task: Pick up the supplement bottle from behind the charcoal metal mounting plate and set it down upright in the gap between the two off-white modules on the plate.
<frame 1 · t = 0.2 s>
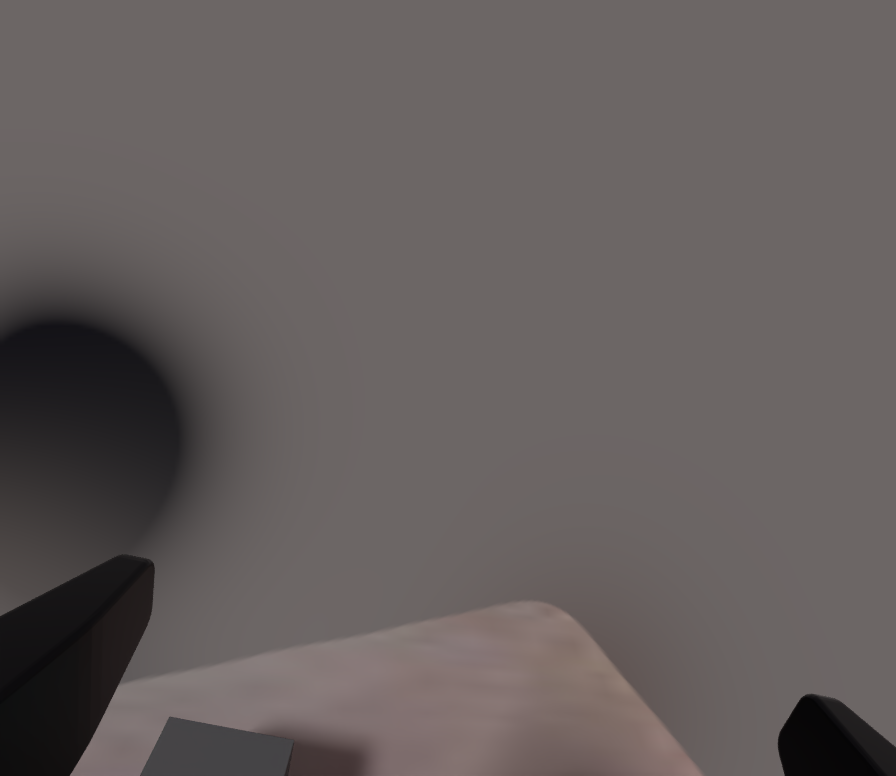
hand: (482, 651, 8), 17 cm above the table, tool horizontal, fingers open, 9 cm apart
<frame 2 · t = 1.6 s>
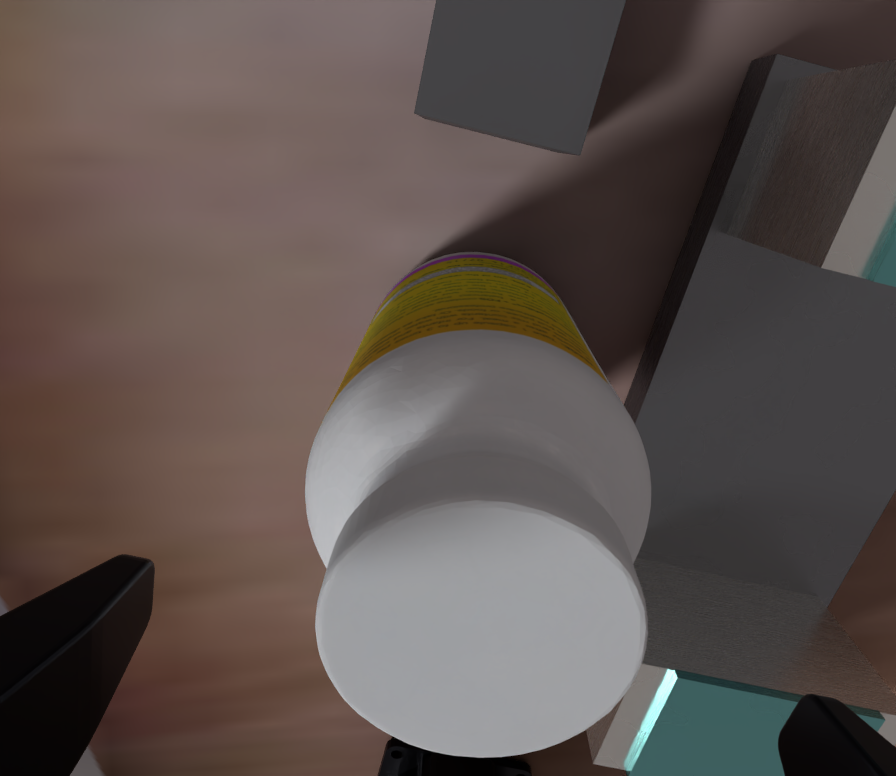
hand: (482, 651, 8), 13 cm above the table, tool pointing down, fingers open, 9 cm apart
loose gray rectangular block: (514, 41, 17), on the table
supplement bottle: (471, 348, 21), on the table
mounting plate: (757, 416, 21), on the table
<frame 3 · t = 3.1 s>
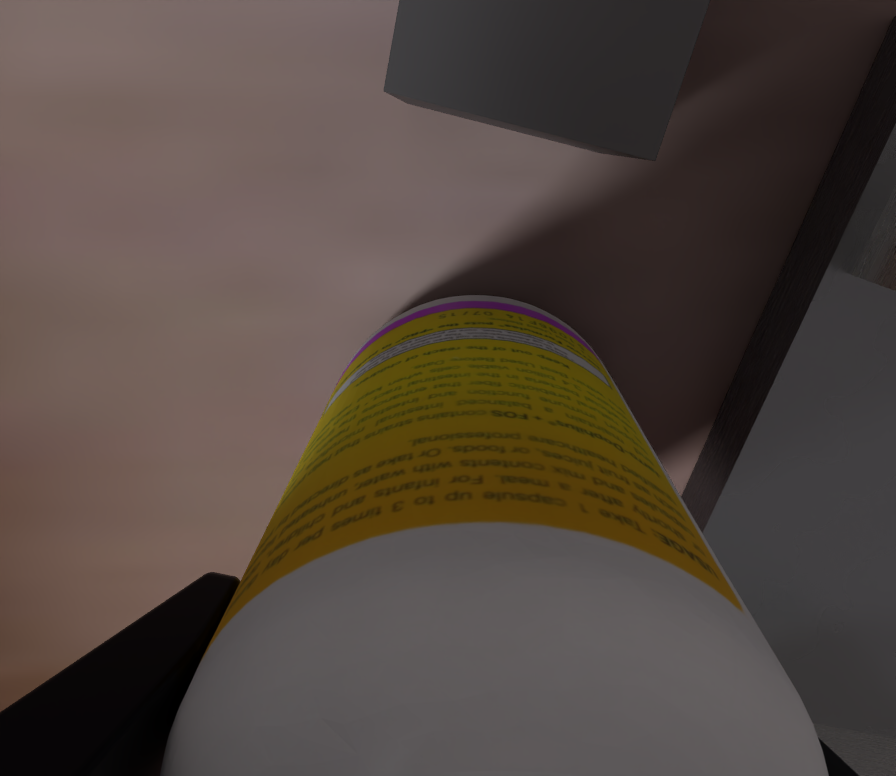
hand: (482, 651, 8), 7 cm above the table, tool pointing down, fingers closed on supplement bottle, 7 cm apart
supplement bottle: (473, 421, 15), on the table, touching gripper
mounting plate: (862, 512, 16), on the table
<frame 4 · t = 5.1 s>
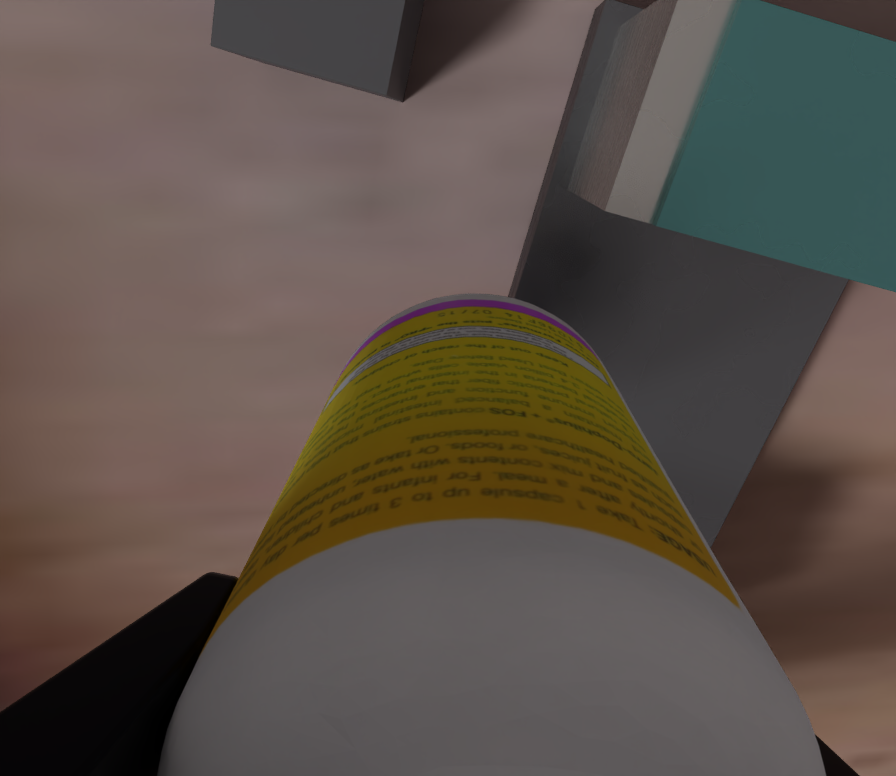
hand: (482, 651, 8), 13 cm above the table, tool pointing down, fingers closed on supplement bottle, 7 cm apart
supplement bottle: (473, 419, 15), point 6 cm above the table, touching gripper
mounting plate: (621, 384, 21), on the table
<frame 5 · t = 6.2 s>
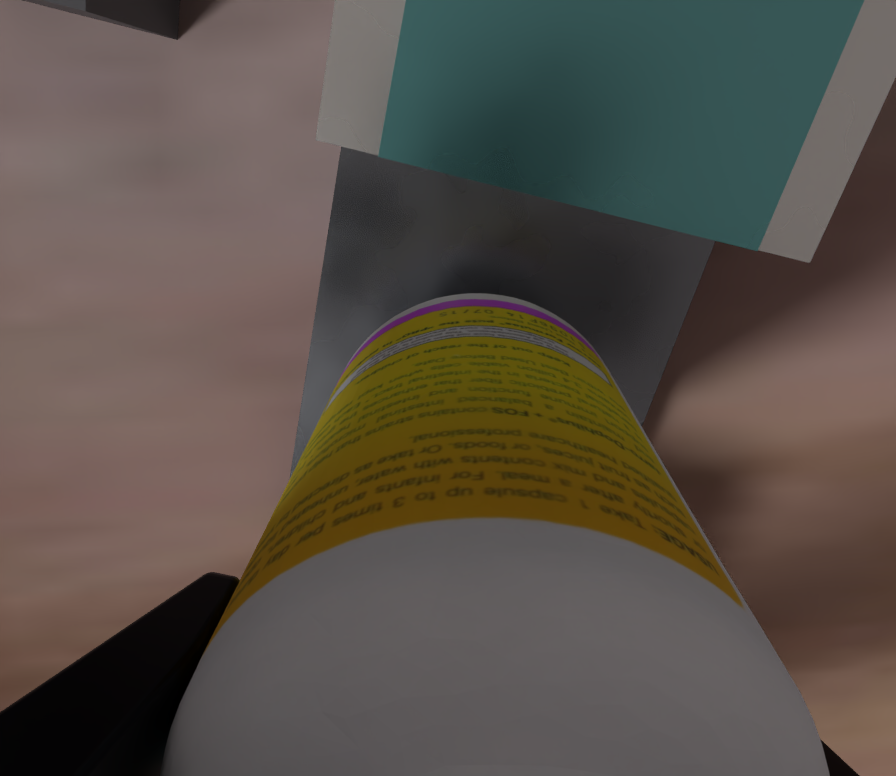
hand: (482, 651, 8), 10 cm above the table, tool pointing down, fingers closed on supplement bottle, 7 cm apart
supplement bottle: (474, 419, 15), point 3 cm above the table, touching gripper
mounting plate: (476, 372, 18), on the table
when the fingers open (10 cm above the table, at t = 7.1 s): supplement bottle drops 1 cm, resting on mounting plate.
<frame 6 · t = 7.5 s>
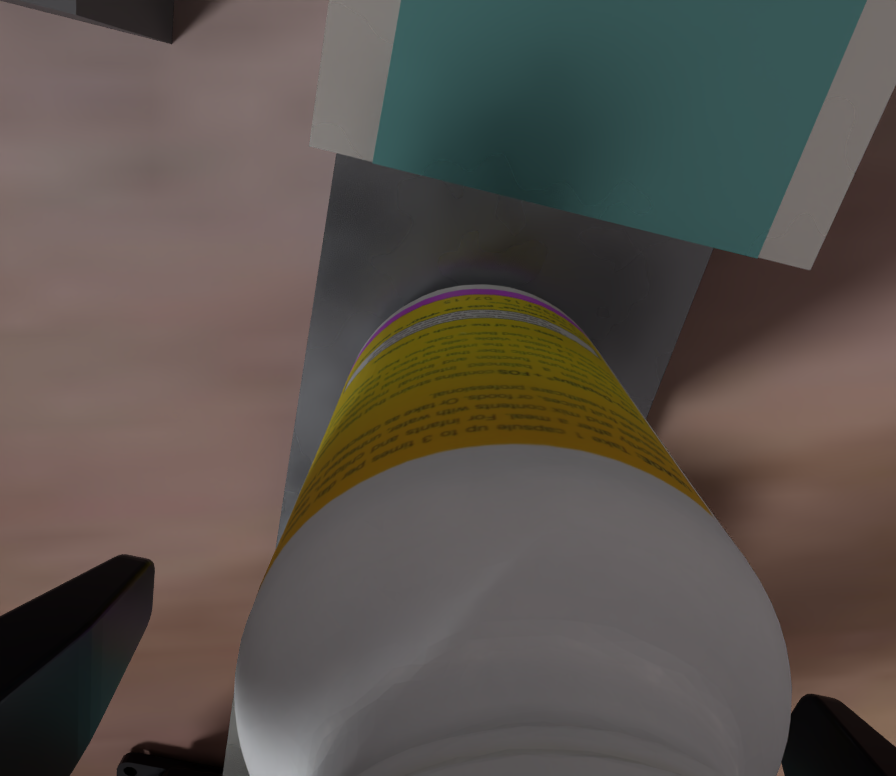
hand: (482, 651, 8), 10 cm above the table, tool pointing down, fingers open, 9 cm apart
supplement bottle: (475, 402, 16), point 1 cm above the table, touching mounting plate
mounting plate: (473, 378, 18), on the table
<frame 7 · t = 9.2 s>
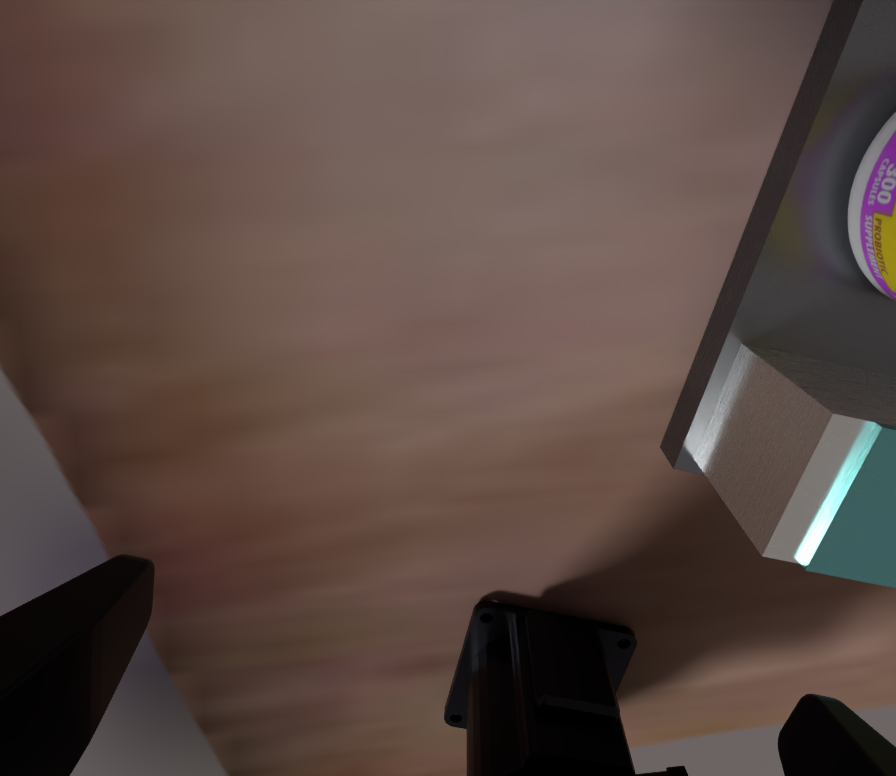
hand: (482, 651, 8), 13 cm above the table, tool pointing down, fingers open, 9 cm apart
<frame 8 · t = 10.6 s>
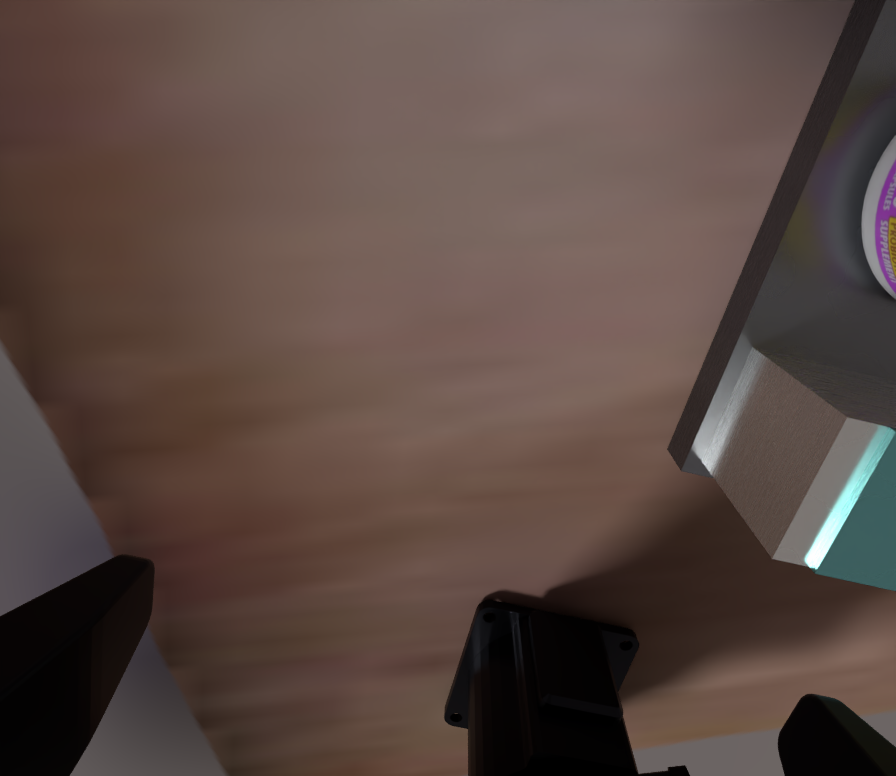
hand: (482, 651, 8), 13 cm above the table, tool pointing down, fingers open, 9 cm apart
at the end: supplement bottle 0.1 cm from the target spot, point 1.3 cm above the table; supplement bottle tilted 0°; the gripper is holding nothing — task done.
